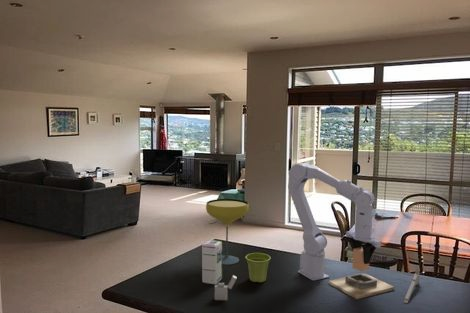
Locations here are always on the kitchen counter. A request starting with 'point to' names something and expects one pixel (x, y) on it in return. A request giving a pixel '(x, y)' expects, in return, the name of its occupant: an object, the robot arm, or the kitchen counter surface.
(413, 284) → the caliper
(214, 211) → the cocktail glass
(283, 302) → the kitchen counter surface
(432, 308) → the kitchen counter surface
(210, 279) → the syrup box
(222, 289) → the lighter
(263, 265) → the plant pot
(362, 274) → the dock
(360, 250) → the orange wooden block
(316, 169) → the robot arm
